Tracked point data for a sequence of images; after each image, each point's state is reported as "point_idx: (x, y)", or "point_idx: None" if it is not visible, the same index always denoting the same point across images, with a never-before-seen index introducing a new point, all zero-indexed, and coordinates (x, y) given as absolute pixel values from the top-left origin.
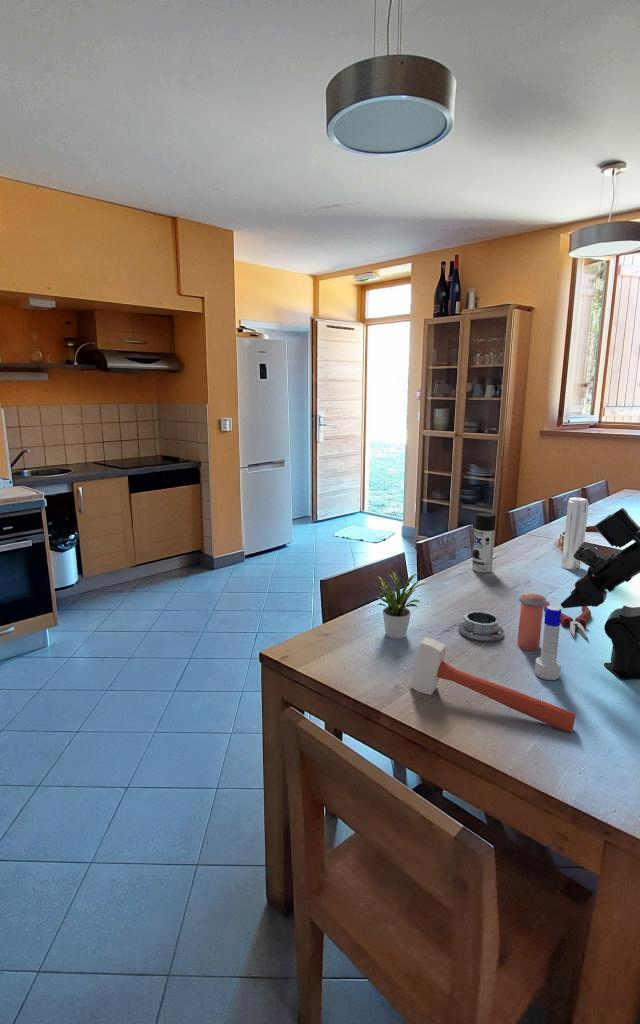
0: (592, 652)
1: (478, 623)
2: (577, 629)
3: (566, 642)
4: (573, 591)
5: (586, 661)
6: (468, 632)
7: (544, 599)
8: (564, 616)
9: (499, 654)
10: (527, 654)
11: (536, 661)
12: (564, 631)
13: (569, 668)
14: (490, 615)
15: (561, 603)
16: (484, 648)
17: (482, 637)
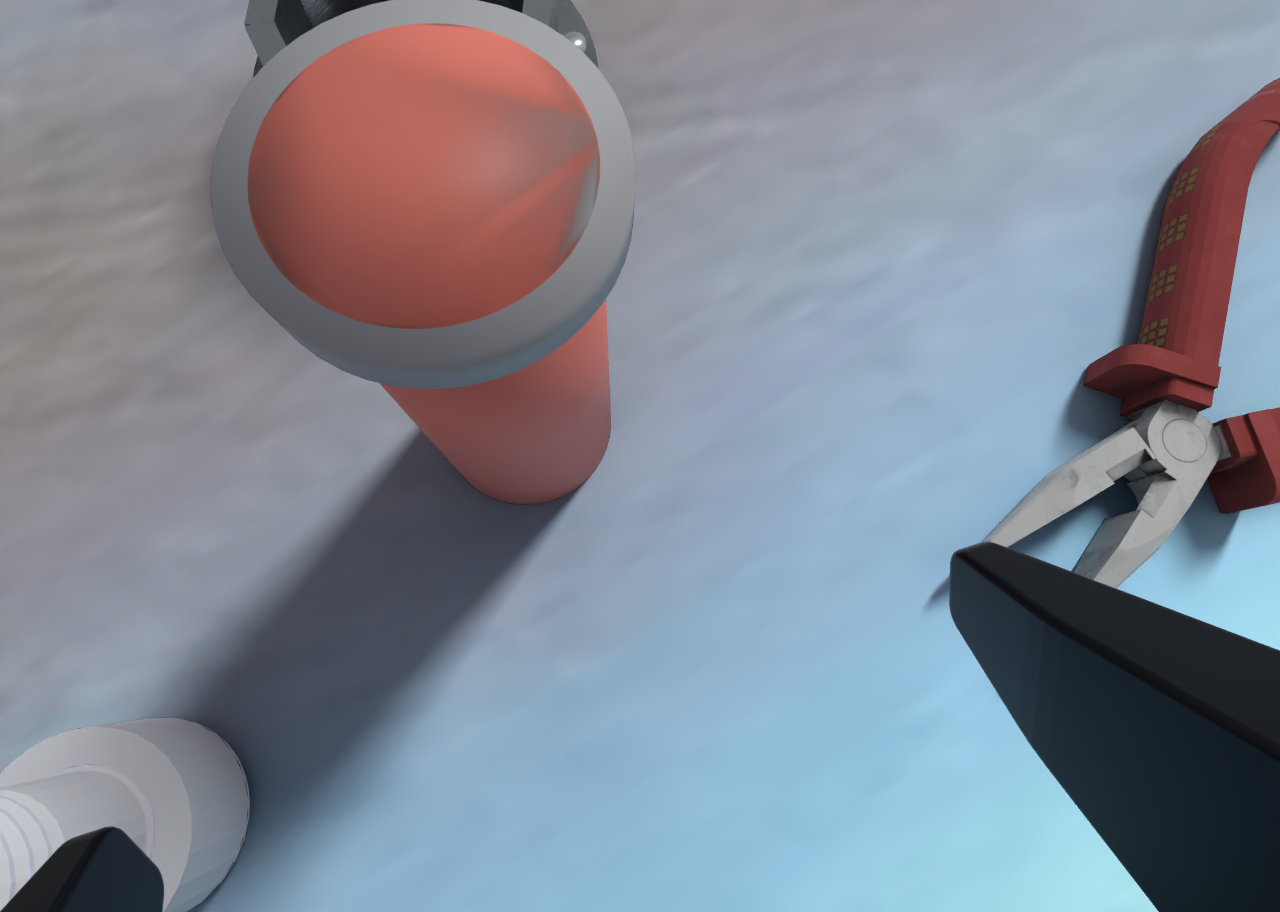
0: (863, 812)
1: (269, 52)
2: (1138, 491)
3: (842, 570)
4: (994, 603)
5: (661, 878)
6: None
7: (488, 326)
8: (1190, 329)
9: (208, 387)
10: (379, 510)
11: (7, 769)
12: (1014, 444)
13: (421, 862)
14: (523, 10)
15: (33, 875)
16: (213, 267)
17: None
